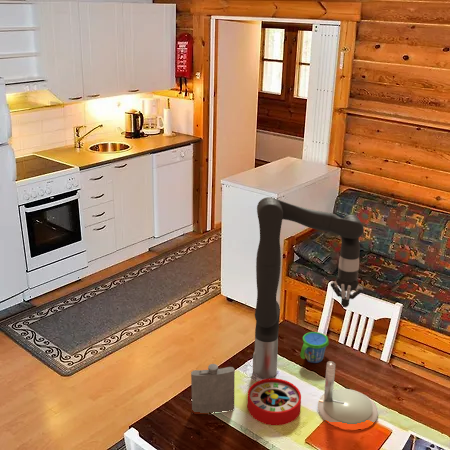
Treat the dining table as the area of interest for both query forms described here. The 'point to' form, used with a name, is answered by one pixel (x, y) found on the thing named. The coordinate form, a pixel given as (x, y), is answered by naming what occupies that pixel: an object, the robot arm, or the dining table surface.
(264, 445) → the dining table surface
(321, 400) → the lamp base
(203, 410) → the hip flask
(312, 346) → the snack cup
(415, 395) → the dining table surface
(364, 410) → the beige disc with handle
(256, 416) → the toy clock
